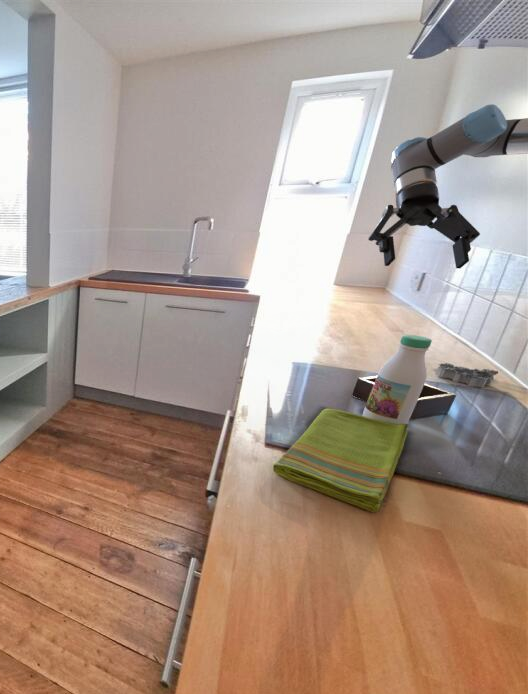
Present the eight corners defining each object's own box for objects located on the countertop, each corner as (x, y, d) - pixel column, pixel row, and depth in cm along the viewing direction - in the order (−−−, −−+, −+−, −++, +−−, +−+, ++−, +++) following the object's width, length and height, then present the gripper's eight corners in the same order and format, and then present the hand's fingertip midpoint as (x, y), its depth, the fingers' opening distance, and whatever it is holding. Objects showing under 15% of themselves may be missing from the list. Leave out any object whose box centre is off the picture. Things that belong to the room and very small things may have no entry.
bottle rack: (447, 413, 97) (456, 394, 95) (408, 420, 94) (417, 400, 92) (387, 391, 109) (394, 373, 107) (351, 396, 106) (357, 378, 104)
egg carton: (494, 385, 112) (502, 371, 110) (477, 389, 110) (484, 375, 108) (447, 371, 121) (453, 358, 119) (430, 374, 119) (436, 361, 117)
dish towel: (269, 474, 75) (274, 459, 74) (321, 412, 97) (325, 400, 96) (376, 517, 65) (384, 500, 63) (407, 437, 87) (413, 423, 86)
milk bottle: (384, 414, 97) (418, 331, 89) (415, 430, 89) (454, 342, 81) (352, 414, 96) (383, 332, 88) (380, 431, 89) (416, 343, 81)
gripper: (467, 205, 102) (481, 276, 95) (349, 205, 109) (353, 271, 102) (492, 180, 95) (509, 254, 88) (364, 182, 102) (370, 250, 95)
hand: (425, 263), depth 95 cm, fingers open, 13 cm apart
